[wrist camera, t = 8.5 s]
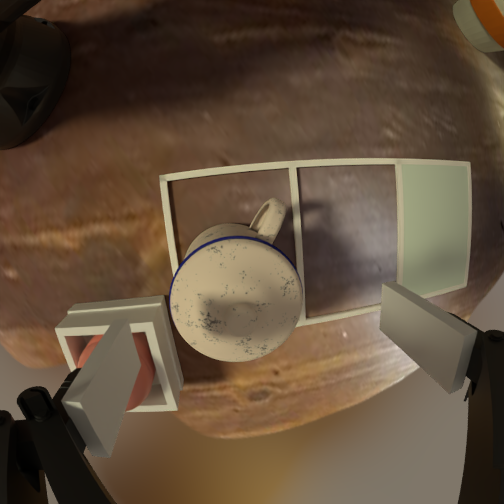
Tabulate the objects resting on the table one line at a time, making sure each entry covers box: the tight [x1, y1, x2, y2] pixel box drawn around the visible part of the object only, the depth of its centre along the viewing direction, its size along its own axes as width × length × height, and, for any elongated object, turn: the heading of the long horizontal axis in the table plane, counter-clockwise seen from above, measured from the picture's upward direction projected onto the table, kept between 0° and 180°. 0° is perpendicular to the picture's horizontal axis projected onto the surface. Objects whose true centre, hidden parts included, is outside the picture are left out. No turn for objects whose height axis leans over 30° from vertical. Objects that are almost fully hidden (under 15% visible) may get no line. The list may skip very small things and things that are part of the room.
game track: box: [159, 158, 472, 327], centre depth 29 cm, size 35×16×1 cm, turn 96°
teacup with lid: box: [169, 198, 303, 362], centre depth 23 cm, size 12×9×12 cm
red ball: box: [77, 332, 156, 412], centre depth 23 cm, size 7×7×7 cm
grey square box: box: [55, 295, 184, 412], centre depth 26 cm, size 10×10×6 cm
